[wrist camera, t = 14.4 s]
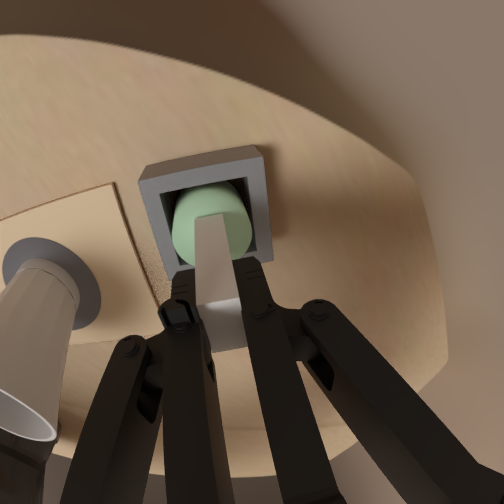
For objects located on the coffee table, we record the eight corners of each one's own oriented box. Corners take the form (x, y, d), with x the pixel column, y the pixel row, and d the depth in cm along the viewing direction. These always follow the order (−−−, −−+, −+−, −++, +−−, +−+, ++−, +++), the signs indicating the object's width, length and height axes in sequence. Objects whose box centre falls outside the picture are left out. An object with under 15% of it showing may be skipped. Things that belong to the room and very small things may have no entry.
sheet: (23, 346, 24) (21, 349, 24) (-44, 239, 17) (-46, 242, 16) (168, 328, 26) (168, 333, 25) (112, 182, 18) (110, 184, 17)
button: (183, 244, 20) (182, 275, 17) (168, 185, 18) (162, 208, 15) (246, 232, 21) (256, 261, 18) (238, 171, 18) (246, 191, 15)
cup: (-3, 254, 18) (-70, 364, 8) (71, 244, 19) (8, 381, 9) (32, 323, 22) (-4, 430, 12) (100, 321, 23) (77, 447, 14)
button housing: (171, 255, 22) (169, 280, 19) (145, 166, 18) (137, 181, 15) (264, 237, 22) (273, 260, 20) (253, 144, 18) (263, 156, 16)
